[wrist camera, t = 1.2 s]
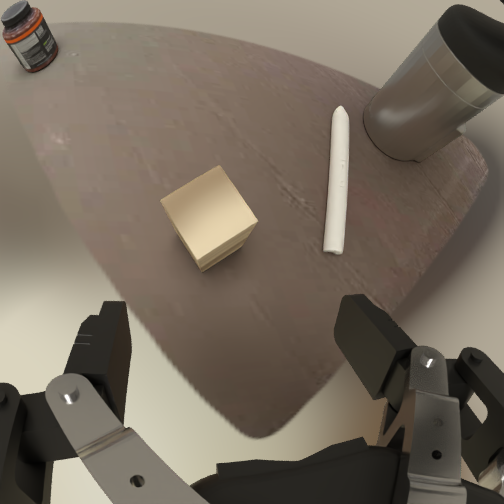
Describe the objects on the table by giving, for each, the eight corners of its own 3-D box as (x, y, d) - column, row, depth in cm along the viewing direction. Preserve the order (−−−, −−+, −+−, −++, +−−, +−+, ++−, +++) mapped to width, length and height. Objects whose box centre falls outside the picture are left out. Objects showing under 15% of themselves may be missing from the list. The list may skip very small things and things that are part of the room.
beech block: (241, 247, 31) (258, 220, 20) (202, 272, 30) (197, 259, 19) (216, 209, 31) (219, 164, 20) (177, 233, 30) (160, 200, 19)
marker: (329, 107, 35) (336, 97, 32) (345, 112, 35) (352, 102, 33) (319, 252, 32) (327, 248, 30) (338, 255, 32) (347, 252, 30)
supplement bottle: (28, 53, 30) (1, 7, 19) (61, 39, 31) (38, -12, 20) (22, 79, 30) (-11, 32, 19) (56, 64, 31) (28, 11, 20)
